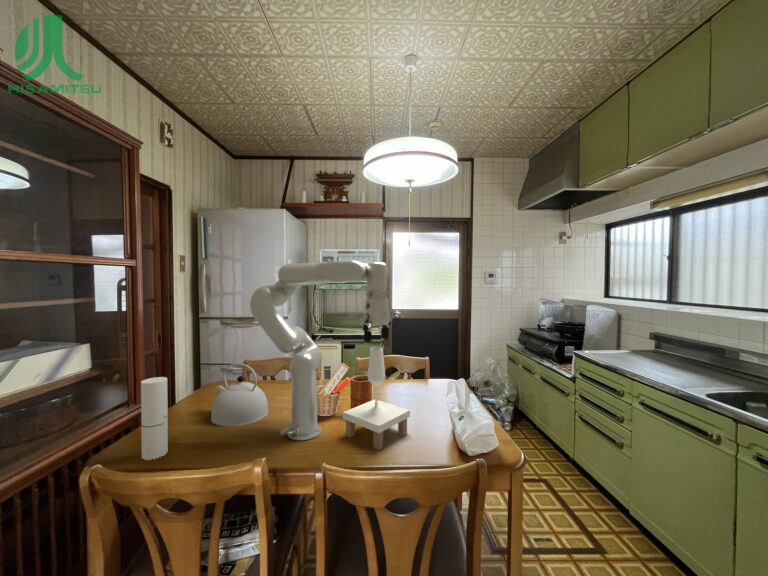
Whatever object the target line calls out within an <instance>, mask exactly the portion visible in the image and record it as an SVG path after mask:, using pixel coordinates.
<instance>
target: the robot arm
mask: <svg viewBox="0 0 768 576" xmlns="http://www.w3.org/2000/svg"><path fill="white" fill-rule="evenodd" d="M387 269H388V267H387V264H386V263H385V262H381V261H374V262H373V261H372V262H368V263H365V262H360V261H358V260H342V261H341V260H340V261H317V262H303V263H300V262H299V263H287V264H284V265H282V266H281V267H280V268H279V270H278V272H277V277H278V281H276V282H275V284H273V285H262V286H260V287H258V288H257V289H255V291H254V292H253V293H252V295H251V297H250V301H249V308H250V312H251V314H252V316H253V318H254V319H255V321H256V322H257V324H258V325H259V326H260V327H261V329H262V330H263V331H264V332H265V334H266V335H267V337H268V339H270V341H272V343H273V344H274V345H275V347H276V348H277V350H279V352H281V353H283V354H290V353H293V357H292V358H291V360H290V362H289V374H290V381H291V422H289V423H288V426H287V427H286V428H282V429H280V431H279V435H280V436H285V435H287V437H288V438H289V439H291V440H295V441H308V440H312V439H314V438H316V437H318V436H319V435H320V434H321V433H322V427H321V425H319V424H318V379H317V369H318V368H319V367H320V366H321V364H322V361H323V353H322V351H321V349H320V348H319V347H318V346H317V344H316V343H315V342H314V340H313V339H312V338H311V337H310V336H309V334H308V333H307V332H306V331H305V329H304V328H302V327H300V326H297V325H290V323H288V322H287V321H286V319H285V318H284V317H283V315H282V313H279V311H278V310H276V308H275V307H280V306H282V305H284V304H285V303H286V302H288V301H289V299H291V298H292V297H293V295H295V294H296V292H297V291H298V290H299V289H300V288H301V287H302V286H318V285H327V284H332V283H347V282H349V283H350V282H351V283H352V282H354V283H355V282H365V281H366V292H365V295H366V299H365V304H364V315H363V317H361V318H360V319H359V324H360V328H361V329H362V331H363V332H364V333H363V341H364V342H365V343H372V338H373V337H372V335H373V334H372V331H371V330H372V328H373V327H379V326H381V331H380V332H381V333H380V335H381V339H382V340H383V339H384V340H388V339H389V337H390V336H389V330H390V327H391V324H392V320H393V316H392V315H391V314H390V313H391V311H390V302H389V298H388V296H387V295H388V293H387V292H388V291H387V290H388V289H387V288H388V283H387V282H388V271H387Z"/></svg>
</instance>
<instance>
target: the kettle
mask: <svg viewBox="0 0 768 576" xmlns="http://www.w3.org/2000/svg"><path fill="white" fill-rule="evenodd" d="M235 366H236V367H237V366H239V367H240V366H242V367H244V368H247V369H249V370H250V372H251V373H252V374H253V378H254V383H252V382H249V381H244V380H245V379H244V376H243V375H239V376H238V377H237V378H236V381H237V382H236V383H235V382H234V383H231V384H230V385H228V382H227V379H226V375H227V374H226V373H227V371H228V369H229V368H230V367H235ZM223 382H224V384H225V385H224V386H225V387H224V386H222V385H218V386H216V387H215V389H216V390H217V392H218V393H219V394H217V396H216V398H215V399H214V401H213V404H212V407H211V412H210V413H211V414H210V415H211V418H210V422H211V421H212V422H211V423H212V424H213V423H214V424H213V425H215V424H216V426H219V425H220V427H238V426H244V425H249V424H252V423H255V422H258V421H259V420H262V419H263V418H265V417H266V416H267V415H268V414H269V406H268V405H269V403H268V399H267V396H266V394H265V392H264V391H263V390H262V389H261V388H260V387H259V386H258V385H257V384H258V378H257V374H256V372H255V370H254V369H253V368H252V367H251V366H249V365H248V364H244V363H231V364H229V365H227V366H226V367H225V369H224V371H223Z"/></svg>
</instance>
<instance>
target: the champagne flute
mask: <svg viewBox="0 0 768 576" xmlns="http://www.w3.org/2000/svg"><path fill="white" fill-rule="evenodd" d="M368 359H369V360H368V371H367V379H368V381H369V383H370V384H371V385H373V386H374V399H375V406H374V407H372V408H371V409H369V410H368V413H370V414H373V415H379V414H383V413H384V412H385V410H384V409H382V408H380V407H379V406H378V400H379V386H380V385H382V383H383V382H384V381H385V380H386V370H385V369H386V368H385V367H386V366H385V358H384V348H383V347H380V346H372V347H370V349H369V358H368Z"/></svg>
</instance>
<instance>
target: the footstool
mask: <svg viewBox="0 0 768 576" xmlns="http://www.w3.org/2000/svg"><path fill="white" fill-rule="evenodd" d="M374 406H375V398H374V399H372V400H370V401H367V402H365V403H363V404H360V405H358V406H356V407H353V408H350V409H348V410H345V411H343V412H342V419H343V420H345V436H346V437H347V438H352V437H354V436H356V425H357V426H360V427H363V428H364V429H367V430H370V431H373V441H372V442H373V443H372V444H373V449H374V448H375V450H376V449H377V451H380V450H381V449H383V448H384V431H386V430H388V429H390V428H392V427H393V426H395V425H397V424H398V425H397V426H398V427H397V435H399V434H400V436H402V437H404V436H406V435H407V434H408V419H409V418H410V417H411V410H410V409H407V408H404V407H401V406H398V405H395V404H391V403H388V402H385V401H383V400H382V401H381V400H379V399H378V406H379V407H380V408H382V409H384V410H385V412H384V413H383V414H379V415H373V414H370V413H368V410H369V409H371V408H372V407H374Z"/></svg>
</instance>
